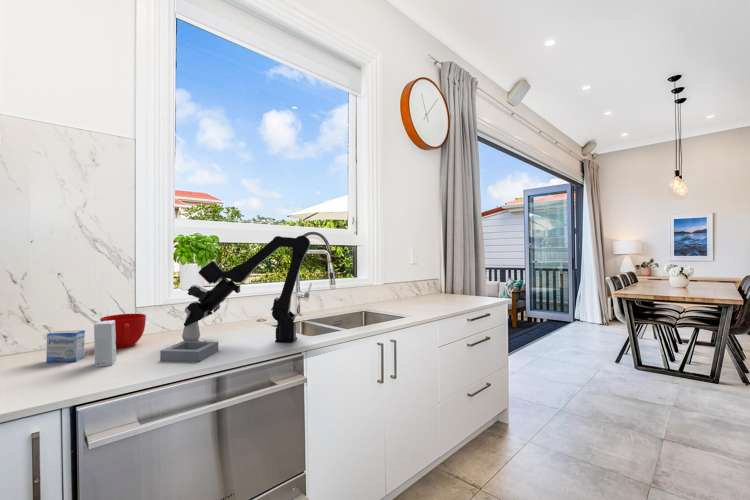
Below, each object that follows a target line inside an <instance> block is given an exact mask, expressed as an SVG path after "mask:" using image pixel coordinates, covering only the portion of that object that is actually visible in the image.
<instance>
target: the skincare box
mask: <svg viewBox="0 0 750 500" xmlns="http://www.w3.org/2000/svg"><path fill="white" fill-rule="evenodd" d="M93 327H94V328H93V330H94V331H93V334H94V335H93V336H94V337H93V338H94V339H93V342H94V344H93V345H94V346H93V347H94V367H95V368H99V367H108V366H109V367H111V366H112V365H114V364H115V362H116V361H117V348H116V332H115V320H110V321H101V320H99V321H98V322H96V323H95V324H94V325H93Z"/></svg>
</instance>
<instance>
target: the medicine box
mask: <svg viewBox="0 0 750 500" xmlns="http://www.w3.org/2000/svg"><path fill="white" fill-rule="evenodd" d="M85 337H86V330H84V329H83V330H82V329H80V330H77V329H76V330H56V331H51V332H48V333H47V334H46V352H45V353H46V357H45V358H46V363H47V364H53V363H55V364H57V363H73V362H75V363H76V362H78V361H81V360H83V359H84V358H85V345H86V344H85V343H86V342H85V341H86V340H85Z"/></svg>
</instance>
